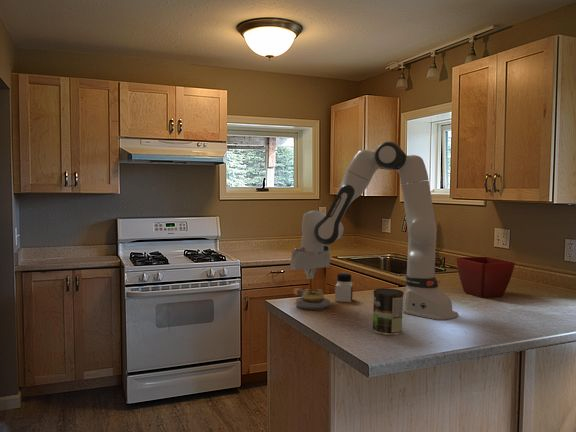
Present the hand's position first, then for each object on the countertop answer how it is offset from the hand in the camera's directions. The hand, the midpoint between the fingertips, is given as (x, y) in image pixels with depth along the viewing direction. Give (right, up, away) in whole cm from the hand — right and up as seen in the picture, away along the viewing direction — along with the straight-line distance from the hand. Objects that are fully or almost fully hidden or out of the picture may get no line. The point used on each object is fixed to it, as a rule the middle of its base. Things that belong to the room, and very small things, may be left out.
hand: (309, 278), depth 218 cm
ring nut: (-1, -7, -7) cm, 10 cm away
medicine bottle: (+15, -10, +3) cm, 19 cm away
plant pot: (+84, -11, +21) cm, 87 cm away
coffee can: (+25, -13, -43) cm, 52 cm away
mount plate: (+1, -11, -9) cm, 14 cm away
